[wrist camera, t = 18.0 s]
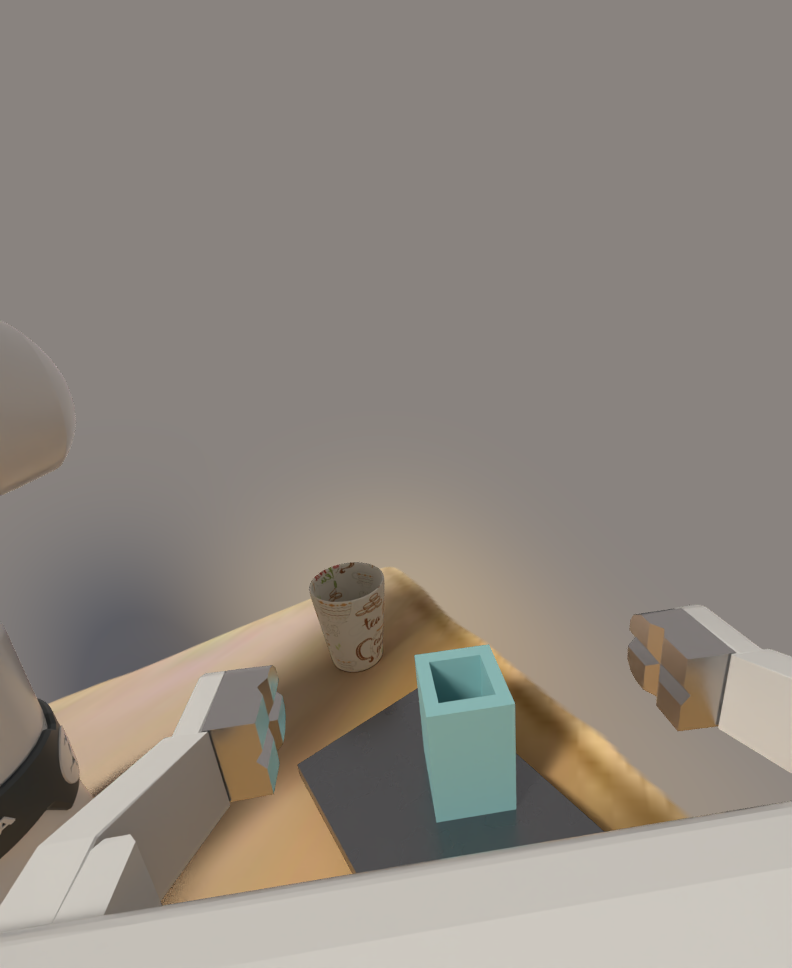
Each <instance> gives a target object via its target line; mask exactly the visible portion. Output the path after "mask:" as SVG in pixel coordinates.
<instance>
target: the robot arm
mask: <svg viewBox="0 0 792 968" xmlns="http://www.w3.org/2000/svg"><path fill="white" fill-rule="evenodd" d="M74 432H75V408H74V403H73V399H72V396H71V393H70V390H69V387H68V385H67V383H66V381H65V379H64V377H63V376H62V374H61V372H60V371H59V370H58V368H57V367H56V365H55V364H54V362H53V361H52V360H51V359H50V358H49V357H48V355H47V354H45V352H43V350H42V349H41V348H40V347H39V346H38V345H36V344H35V343H34V342H33V341H31V340H30V339H29V338H28V337H27V336H25V335H24V334H23V333H21V332H20V331H18V330H17V329H15V328H14V327H12V326H11V325H9V324H7V323H5V322H3V321H1V320H0V496H1V495H4V494H6V493H8V492H10V491H13V490H15V489H17V488H19V487H21V486H23V485H25V484H27V483H29V482H31V481H34V480H36V479H37V478H39V477H42V476H43V475H46V474H48V473H50V472H52V471H54V470H56V469H57V468H59V467H60V466H61V465H62V463H63V462H64V460H65V458H66V456H67V454H68V453H69V450H70V447H71V445H72V441H73V437H74ZM630 631H631V632H632V634H633V635H634V636H635V638H634V639H633V640H632V642H631V643H630V644H629V645H628V662H629V666H630V670H631V672H632V674H633V676H634V678H635V680H636V681H637V682H638V684H639V685H640V686H641V687H642V688H643V690H645V691H647V692H649V693H651V694H653V695H655V696H657V700H656V701H657V703H656V705H657V707H658V708H659V709H660V710H661V712H662V713H663V714H664V715H665V716H666V718H667V719H668V720H669V721H670V722H671V724H672V725H673V726H674V727H675V728H676V730H677V731H683V730H691V729H700V728H708V727H715V726H718V729H720V730H722V731H723V732H725V733H726V734H728V735H730V736H731V737H733V738H734V739H736V740H738V741H739V742H741V743H743V744H744V745H746V746H748V747H749V748H751V749H752V750H754V751H756V752H757V753H759V754H761V755H762V756H764V757H765V758H767V759H769V760H770V761H772V762H774V763H775V764H777V765H778V766H780V767H782V768H783V769H785V770H787V771H788V772H790V773H791V774H792V657H791V656H789V655H786V654H783V653H780V652H777V651H774V650H771V649H764V650H762V649H761V648H760V647H758V646H757V645H756V644H754V643H753V642H752V641H750V640H749V639H748V638H746V637H745V636H744V635H742V634H741V633H740V632H738V631H737V630H736V629H734V628H733V627H732V626H730V625H729V624H728V623H726V622H725V621H724V620H722V619H721V618H720V617H719V616H717V615H716V614H715V613H713V612H712V611H711V610H709V609H708V608H707V607H705V606H702V605H699V604H696V605H689V606H683V607H678V608H675V609H668V610H661V611H655V612H648V613H641V614H634V615H633V617H632V619H631V620H630ZM278 681H279V679H278V675H277V671H276V668H275V667H274V666H273V665H270V666H262V667H253V668H245V669H236V670H228V671H222V672H214V673H206V674H204V675H203V676H201V677H200V678H199V680H198V682H197V684H196V686H195V689H194V691H193V693H192V695H191V697H190V699H189V701H188V703H187V706H186V708H185V710H184V712H183V714H182V716H181V718H180V720H179V723H178V725H177V727H176V729H175V731H174V733H173V735H172V737H167V738H164V739H163V740H161V741H160V742H159V743H158V744H157V745H156V746H154V747H153V748H152V749H151V750H150V751H149V752H147V753H146V754H145V755H144V756H143V757H142V758H140V759H139V760H138V761H137V762H136V763H135V764H133V765H132V766H131V767H130V768H129V769H128V770H126V771H125V772H124V773H123V774H122V775H121V776H119V777H118V778H117V779H116V780H115V781H114V782H112V783H111V784H110V785H109V786H108V787H107V788H105V789H104V790H103V791H102V792H101V793H100V794H98V795H97V796H96V797H95V798H93V796H92V795H91V794H90V792H89V791H88V790H87V788H86V787H85V786H84V784H83V783H82V781H81V780H80V777H79V765H78V761H77V758H76V756H75V753H74V751H73V748H72V746H71V744H70V741H69V739H68V737H67V735H66V732H65V730H64V728H63V726H60V725H59V723H58V721H57V719H56V717H55V715H54V713H53V712H52V710H51V708H50V706H49V705H48V704H47V703H46V702H44V701H43V700H41V699H38V698H36V695H35V693H34V691H33V689H32V687H31V684H30V682H29V680H28V678H27V675H26V674H25V671H24V669H23V667H22V664H21V662H20V660H19V658H18V656H17V653H16V651H15V649H14V647H13V645H12V642H11V640H10V638H9V636H8V634H7V632H6V629H5V627H4V625H3V624H2V623H1V622H0V968H792V801H787V802H781V803H775V804H769V805H763V806H757V807H751V808H745V809H739V810H733V811H727V812H721V813H715V814H709V815H703V816H697V817H691V818H685V819H679V820H673V821H667V822H661V823H655V824H649V825H643V826H637V827H631V828H625V829H619V830H613V831H607V832H601V833H595V834H589V835H583V836H577V837H571V838H565V839H559V840H553V841H547V842H541V843H535V844H529V845H523V846H517V847H511V848H505V849H499V850H493V851H487V852H481V853H475V854H469V855H463V856H457V857H451V858H445V859H439V860H433V861H427V862H421V863H415V864H409V865H403V866H397V867H391V868H385V869H379V870H373V871H367V872H361V873H355V874H349V875H343V876H337V877H331V878H325V879H319V880H313V881H307V882H301V883H295V884H289V885H283V886H277V887H271V888H265V889H259V890H253V891H247V892H241V893H235V894H229V895H223V896H217V897H211V898H205V899H199V900H193V901H187V902H181V903H175V904H169V905H163V906H162V904H161V900H162V899H163V897H164V896H165V894H166V893H167V892H168V890H169V889H170V888H171V886H172V885H173V883H174V882H175V881H176V879H177V878H178V877H179V875H180V874H181V872H182V871H183V870H184V868H185V867H186V866H187V864H188V863H189V861H190V860H191V859H192V857H193V856H194V855H195V853H196V852H197V850H198V849H199V848H200V846H201V845H202V844H203V842H204V841H205V839H206V838H207V837H208V835H209V834H210V833H211V831H212V830H213V828H214V827H215V826H216V824H217V823H218V822H219V820H220V819H221V817H222V816H223V815H224V813H225V812H226V810H227V809H228V808H229V806H230V802H235V801H240V800H245V799H251V798H256V797H261V796H267V795H272V794H274V790H275V785H276V779H277V774H278V769H279V758H278V754H277V750H278V749H279V748H280V746H281V745H282V744H283V741H284V735H285V720H286V715H285V705H284V701H283V696H282V695H281V694H279V693H278V692H277V691H276V690H277V686H278Z"/></svg>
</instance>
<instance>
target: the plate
mask: <svg viewBox="0 0 792 968" xmlns="http://www.w3.org/2000/svg"><path fill="white" fill-rule="evenodd" d="M298 769H299V774H300V776H301V778H302V780H303V782H304V784H305V786H306V788H307V789H308V791H309V793H310V795H311V797H312V799H313V801H314V802H315V804H316V806H317V808H318V810H319V812H320V814H321V816H322V817H323V819H324V821H325V823H326V825H327V827H328V829H329V831H330V832H331V834H332V836H333V838H334V840H335V842H336V844H337V845H338V847H339V849H340V851H341V853H342V855H343V857H344V859H345V860H346V862H347V864H348V866H349V868H350V870H351V872H352V873H353V874H355V873H361V872H367V871H373V870H379V869H385V868H391V867H397V866H403V865H409V864H415V863H421V862H427V861H433V860H439V859H445V858H451V857H457V856H463V855H469V854H475V853H481V852H487V851H493V850H499V849H505V848H511V847H517V846H523V845H529V844H535V843H541V842H547V841H553V840H559V839H565V838H571V837H577V836H583V835H589V834H595V833H601V832H604V831H603V830H602V829H601V828H600V827H598V826H597V825H596V824H595V823H594V822H593V821H592V820H591V819H589V818H588V817H587V816H586V815H585V814H584V813H583V812H582V811H580V810H579V809H578V808H577V807H576V806H575V805H574V804H573V803H571V802H570V801H569V800H568V799H567V798H566V797H565V796H564V795H562V794H561V793H560V792H559V791H558V790H557V789H556V788H555V787H553V786H552V785H551V784H550V783H549V782H548V781H547V780H545V779H544V778H543V777H542V776H541V775H540V774H539V773H538V772H536V771H535V770H534V769H533V768H532V767H531V766H530V765H529V764H527V763H526V762H525V761H524V760H523V759H522V758H521V757H520V756H518V755H517V754H516V809H515V810H509V811H503V812H497V813H491V814H485V815H479V816H473V817H467V818H461V819H455V820H449V821H443V822H437V823H436V817H435V811H434V805H433V799H432V793H431V788H430V782H429V776H428V770H427V764H426V758H425V753H424V745H423V735H422V725H421V715H420V705H419V695H418V688H417V689H416V690H414V691H413V692H411V693H409V694H408V695H406V696H405V697H403V698H402V699H400V700H398V701H397V702H395V703H394V704H392V705H391V706H389V707H387V708H386V709H384V710H383V711H381V712H380V713H378V714H376V715H375V716H373V717H372V718H370V719H369V720H367V721H365V722H364V723H362V724H361V725H359V726H358V727H356V728H354V729H353V730H351V731H350V732H348V733H347V734H345V735H343V736H342V737H340V738H339V739H337V740H336V741H334V742H332V743H331V744H329V745H328V746H326V747H325V748H323V749H321V750H320V751H318V752H317V753H315V754H314V755H312V756H310V757H309V758H307V759H306V760H304V761H303V762H301V763H299V764H298Z"/></svg>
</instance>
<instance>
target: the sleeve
mask: <svg viewBox="0 0 792 968" xmlns="http://www.w3.org/2000/svg"><path fill="white" fill-rule="evenodd" d="M414 656H415V666H416V676H417V685H418V695H419V705H420V715H421V725H422V735H423V745H424V753H425V758H426V764H427V770H428V776H429V782H430V788H431V793H432V799H433V805H434V811H435V817H436V823H437V822H443V821H449V820H455V819H461V818H467V817H473V816H479V815H485V814H491V813H497V812H503V811H509V810H515V809H516V735H515V702H514V700H513V698H512V696H511V693H510V691H509V689H508V687H507V684H506V682H505V680H504V678H503V675H502V673H501V671H500V669H499V666H498V664H497V662H496V660H495V657H494V655H493V653H492V651H491V648H490V646H489V645H482V646H475V647H468V648H461V649H454V650H447V651H440V652H433V653H426V654H419V655H414Z"/></svg>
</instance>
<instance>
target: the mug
mask: <svg viewBox="0 0 792 968" xmlns="http://www.w3.org/2000/svg"><path fill="white" fill-rule="evenodd" d="M309 591H310V596H311V599H312V602H313V605H314V608H315V611H316V614H317V617H318V620H319V622H320V625H321V628H322V631H323V634H324V637H325V640H326V643H327V646H328V649H329V652H330V655H331V657H332V660H333V662H334V664H335V665H336V666H337V667H338V668H339V669H341V670H344V671H348V672H358V671H363V670H366V669H368V668H370V667H372V666H373V665H375V664H376V663H377V662H378V661H379V660H380V658H381V656H382V653H383V625H384V576H383V573H382V571H381V570H380V569H379V568H377V567H375V566H373V565H370V564H367V563H359V562H354V563H344V564H339V565H336V566H333V567H330V568H328V569H326V570H324V571H322V572H321V573H319V574H318V575H316V576H315V577H314V579H313V580H312V581H311V583H310V587H309Z"/></svg>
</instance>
